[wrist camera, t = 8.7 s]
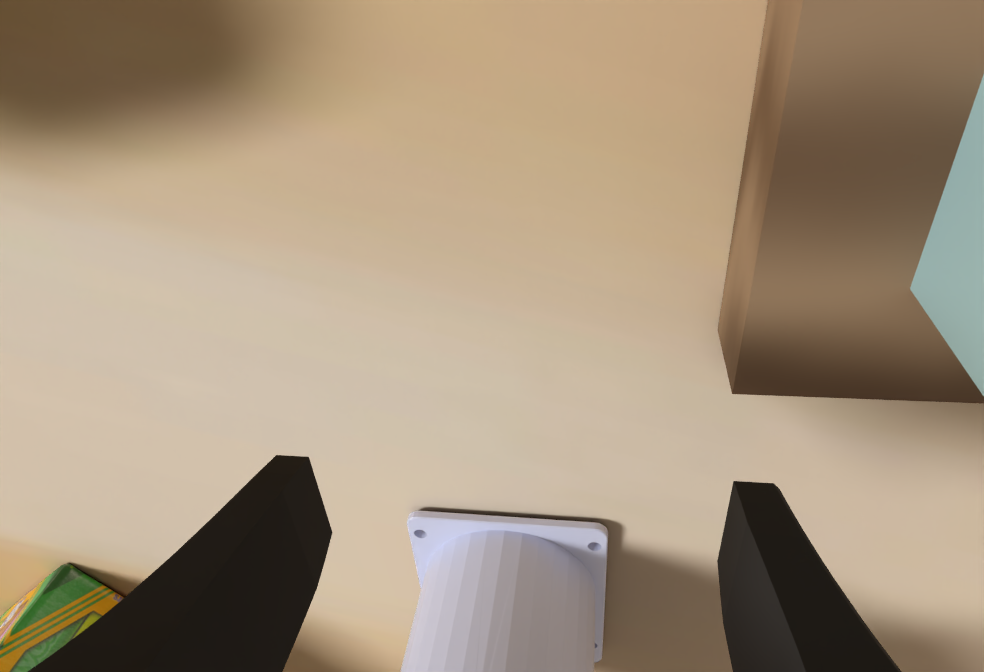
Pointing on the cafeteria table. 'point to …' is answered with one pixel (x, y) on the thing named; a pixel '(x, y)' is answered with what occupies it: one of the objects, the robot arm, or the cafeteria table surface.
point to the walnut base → (848, 199)
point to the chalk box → (51, 617)
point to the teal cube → (959, 253)
